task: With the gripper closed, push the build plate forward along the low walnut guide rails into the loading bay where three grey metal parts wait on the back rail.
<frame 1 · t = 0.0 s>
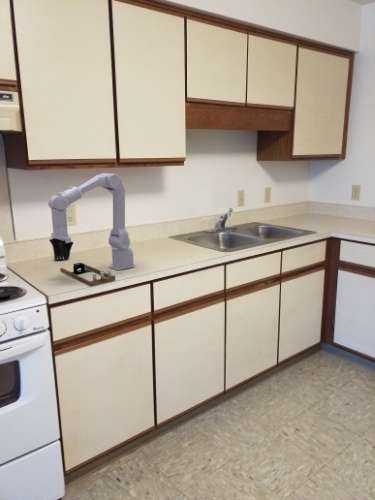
hand: (62, 256, 165), 10 cm above the worktop, tool pointing down, fingers open, 7 cm apart
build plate: (79, 273, 179), on the worktop
loading bay: (86, 275, 173), on the worktop
battery charger: (61, 260, 199), on the worktop
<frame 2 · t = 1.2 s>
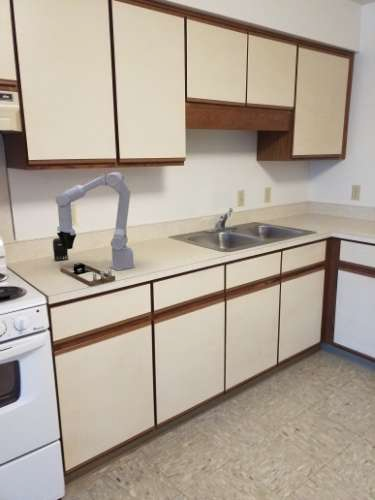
hand: (67, 247, 184), 9 cm above the worktop, tool pointing down, fingers open, 5 cm apart
nothing on the worktop moved.
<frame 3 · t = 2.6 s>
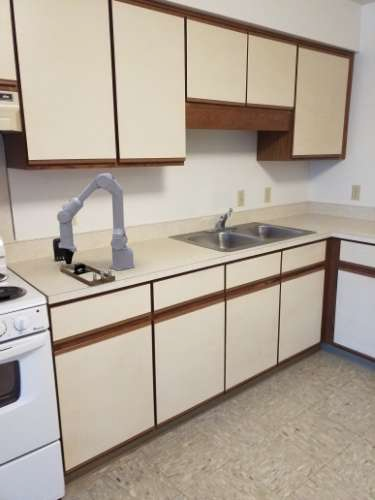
hand: (68, 264, 186), 2 cm above the worktop, tool pointing down, fingers closed
nothing on the worktop moved.
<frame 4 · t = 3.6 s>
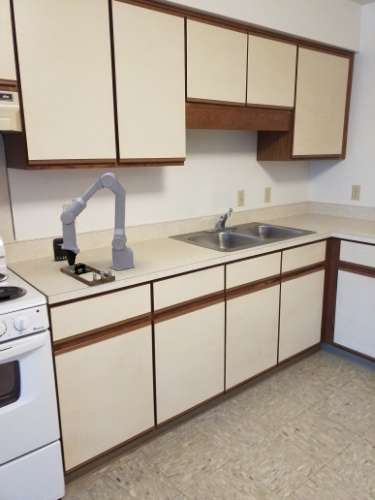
hand: (71, 265, 184), 2 cm above the worktop, tool pointing down, fingers closed
nothing on the worktop moved.
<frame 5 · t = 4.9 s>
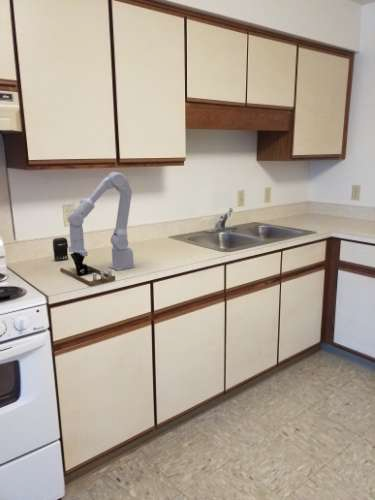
hand: (78, 268, 178), 2 cm above the worktop, tool pointing down, fingers closed
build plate: (82, 274, 177), on the worktop
everything else where it was.
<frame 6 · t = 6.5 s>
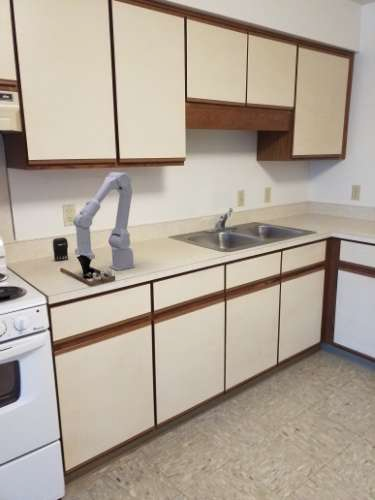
hand: (85, 271, 173), 2 cm above the worktop, tool pointing down, fingers closed
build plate: (89, 278, 172), on the worktop
everything else where it was.
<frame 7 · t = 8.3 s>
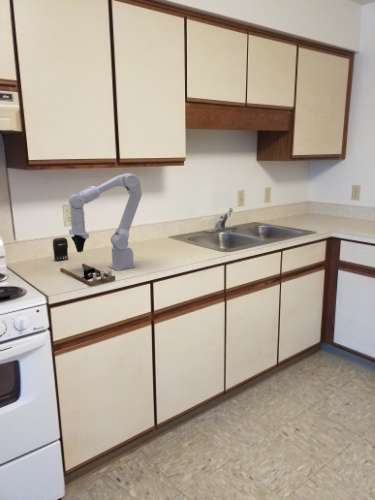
hand: (80, 251, 177), 9 cm above the worktop, tool pointing down, fingers closed
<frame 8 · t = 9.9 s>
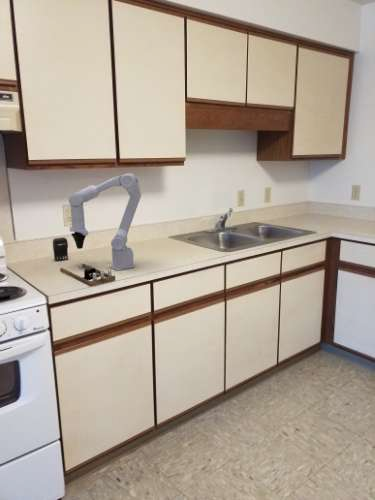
hand: (79, 248, 183), 9 cm above the worktop, tool pointing down, fingers closed
at the end: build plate inside the target area (4.3 cm from its centre), on the worktop; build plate tilted 2° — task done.
